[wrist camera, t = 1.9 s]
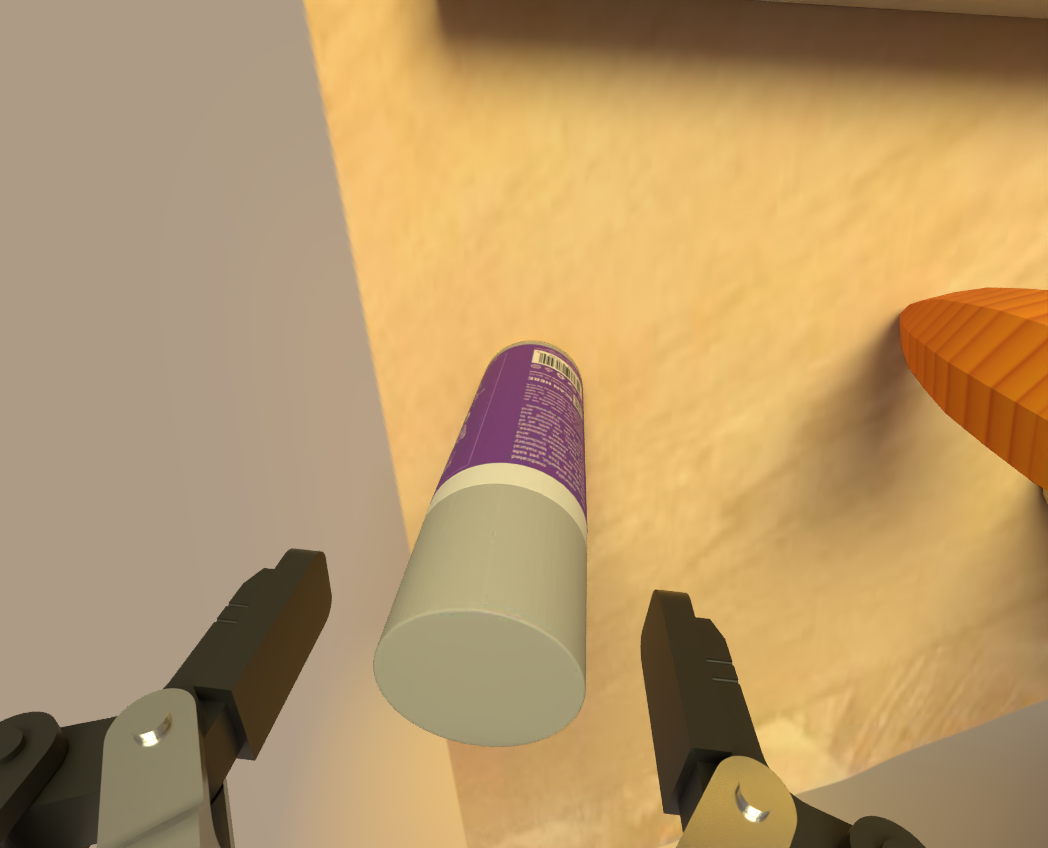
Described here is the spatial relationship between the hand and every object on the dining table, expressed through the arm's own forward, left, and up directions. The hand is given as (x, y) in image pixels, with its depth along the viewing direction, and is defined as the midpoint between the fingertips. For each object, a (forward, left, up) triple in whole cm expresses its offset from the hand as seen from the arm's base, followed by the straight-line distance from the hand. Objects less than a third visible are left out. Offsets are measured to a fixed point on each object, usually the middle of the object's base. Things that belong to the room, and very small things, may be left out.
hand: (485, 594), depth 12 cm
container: (0, 0, -13) cm, 13 cm away
